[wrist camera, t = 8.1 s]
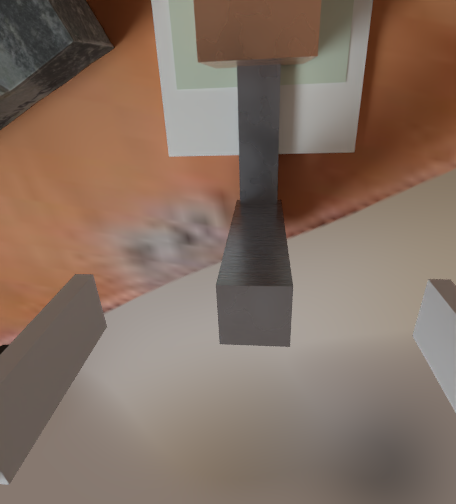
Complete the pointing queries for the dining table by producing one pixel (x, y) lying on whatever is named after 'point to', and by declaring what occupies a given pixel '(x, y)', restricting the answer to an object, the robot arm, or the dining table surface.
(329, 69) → the white flat panel
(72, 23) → the stone block
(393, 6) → the dining table surface
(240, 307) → the grey l-shaped piece
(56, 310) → the robot arm
